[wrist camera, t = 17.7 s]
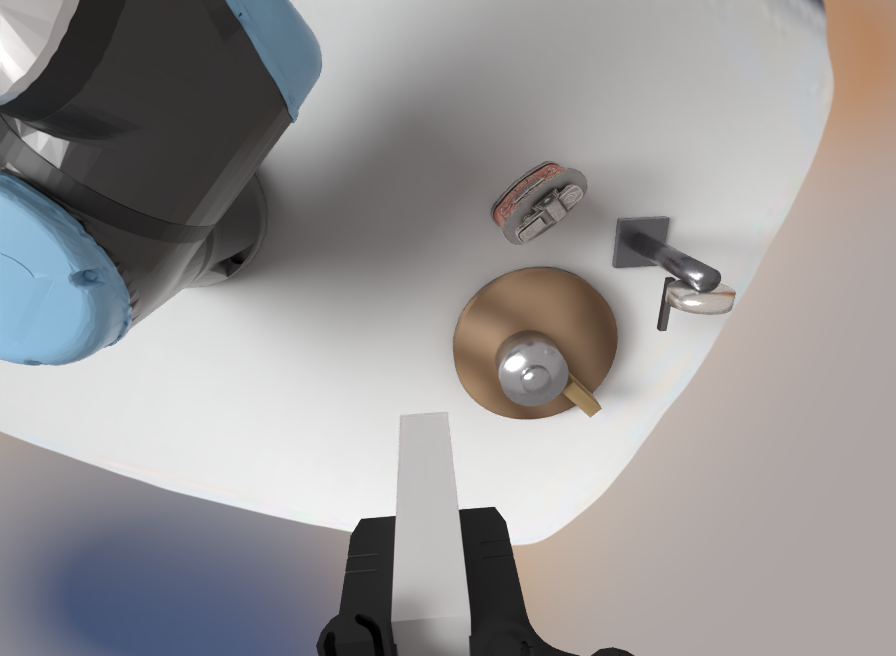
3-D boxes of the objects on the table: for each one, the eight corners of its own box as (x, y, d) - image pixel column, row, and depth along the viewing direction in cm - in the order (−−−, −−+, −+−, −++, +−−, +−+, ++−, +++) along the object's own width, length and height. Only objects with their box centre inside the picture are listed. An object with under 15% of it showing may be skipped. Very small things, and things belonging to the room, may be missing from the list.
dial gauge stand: (608, 296, 51) (676, 358, 38) (617, 218, 47) (695, 258, 34) (652, 293, 51) (735, 354, 38) (665, 216, 48) (760, 254, 34)
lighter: (548, 152, 44) (583, 161, 35) (568, 180, 45) (606, 196, 36) (483, 208, 46) (500, 231, 37) (503, 233, 47) (525, 261, 38)
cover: (522, 396, 53) (532, 423, 48) (481, 359, 50) (488, 383, 46) (570, 357, 51) (585, 381, 46) (530, 317, 49) (542, 338, 44)
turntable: (525, 434, 57) (535, 461, 53) (419, 348, 51) (420, 370, 47) (641, 338, 53) (662, 359, 48) (539, 231, 47) (553, 244, 42)
